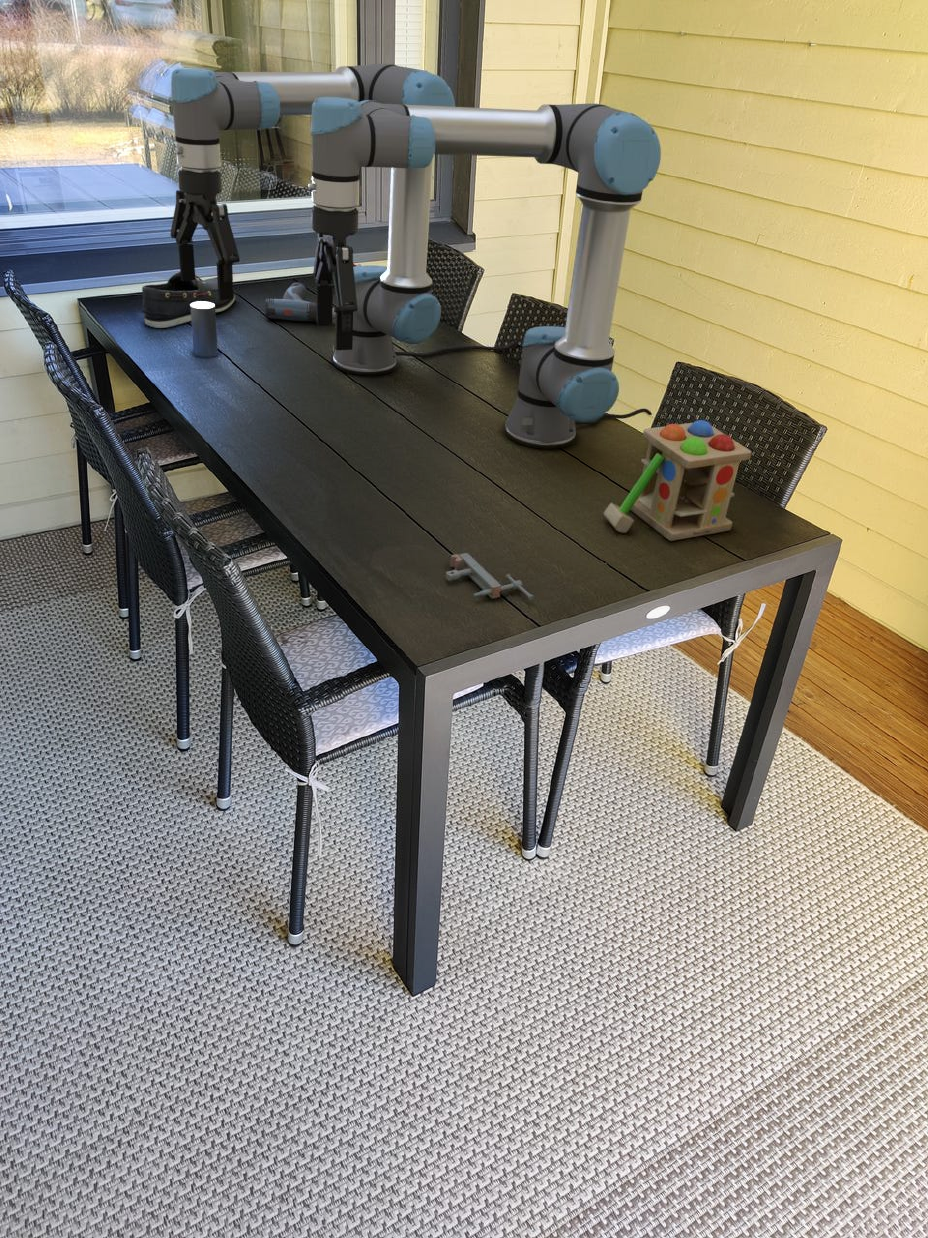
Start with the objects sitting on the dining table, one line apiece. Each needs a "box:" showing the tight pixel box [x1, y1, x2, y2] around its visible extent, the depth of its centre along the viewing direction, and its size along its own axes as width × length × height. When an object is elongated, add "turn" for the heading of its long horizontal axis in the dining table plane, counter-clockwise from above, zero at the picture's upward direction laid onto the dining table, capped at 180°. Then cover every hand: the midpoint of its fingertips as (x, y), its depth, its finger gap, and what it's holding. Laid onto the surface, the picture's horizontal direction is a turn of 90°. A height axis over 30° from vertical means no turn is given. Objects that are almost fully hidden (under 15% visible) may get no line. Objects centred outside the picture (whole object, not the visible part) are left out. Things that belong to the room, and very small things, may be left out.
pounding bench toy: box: [603, 419, 753, 542], centre depth 178 cm, size 23×14×18 cm, turn 116°
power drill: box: [264, 282, 336, 322], centre depth 265 cm, size 5×19×20 cm
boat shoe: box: [141, 271, 236, 329], centre depth 257 cm, size 13×33×10 cm, turn 147°
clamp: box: [445, 552, 535, 601], centre depth 158 cm, size 15×2×10 cm
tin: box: [190, 301, 219, 358], centre depth 233 cm, size 6×6×12 cm
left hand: (206, 289), depth 186 cm, fingers open, 13 cm apart
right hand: (333, 336), depth 170 cm, fingers open, 13 cm apart
